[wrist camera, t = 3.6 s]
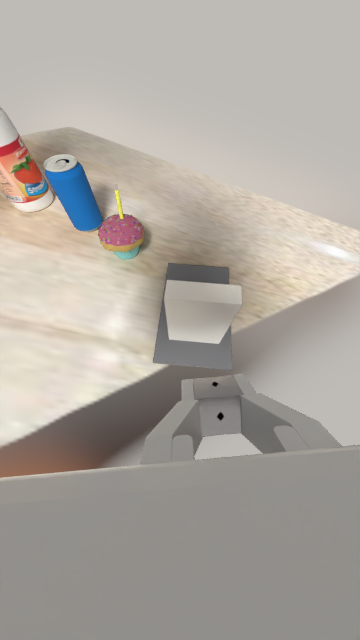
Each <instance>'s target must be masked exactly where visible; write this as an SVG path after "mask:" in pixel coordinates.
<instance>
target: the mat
mask: <svg viewBox="0 0 360 640" xmlns="http://www.w3.org/2000/svg"><path fill="white" fill-rule="evenodd" d="M167 280H176V281H189V282H202V283H214V284H227V285H229V268H227V267H214V266H201V265H187V264H174V263H168V269H167V275H166V282H167ZM166 282H165V288H164V295H165V289H166ZM164 295H163V301H162V307H161V314H160V320H159V326H158V333H157V339H156V346H155V352H154V358H153V363H159V364H170V365H181V366H192V367H203V368H213V369H224V370H232V349H231V324H230V326H229V328H228V329H227V331H226V333H225V334H224V336H223V338H222V339H221V341H220V343H219V344H214V343H203V342H191V341H180V340H169V335H168V327H167V319H166V310H165V302H164Z"/></svg>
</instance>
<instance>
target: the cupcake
mask: <svg viewBox="0 0 360 640" xmlns="http://www.w3.org/2000/svg"><path fill="white" fill-rule="evenodd" d="M115 195H116V200H117V205H118V210H119V214H117V215H113V216H110V217H108V218H107V219H106V220H105V221H104V222H103V223H102V225H101V227H99V228H100V229H99V233H98V236H99V238H100V242H101V244H102V245H103V247H104V248H105V249H107V250H109V251H113V252H114V253H115V254H116V255H117V256H118V257H119V258H121V259H131V258H133V257H135V256H136V255H137V254H138V251H139V245H141V244H142V243H143V239H144V230H143V226H142V224H141V222H140V221H138V219H137V218H134V217H132V215H126V214H123V211H122V205H121V200H120V194H119V190H117V184H116V190H115Z"/></svg>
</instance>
